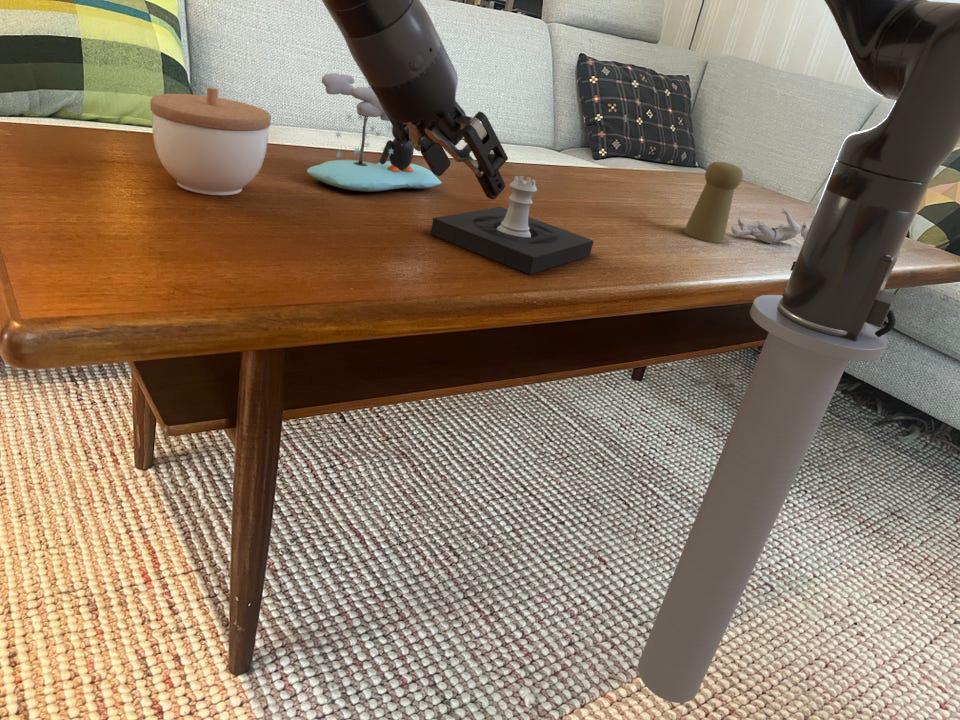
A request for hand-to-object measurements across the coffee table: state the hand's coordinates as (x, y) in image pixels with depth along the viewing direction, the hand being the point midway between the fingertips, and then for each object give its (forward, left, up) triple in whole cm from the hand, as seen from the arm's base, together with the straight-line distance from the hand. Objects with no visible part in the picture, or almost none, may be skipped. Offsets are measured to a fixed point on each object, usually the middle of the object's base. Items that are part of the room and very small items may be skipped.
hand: (469, 181), depth 77 cm
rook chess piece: (-2, -9, -8) cm, 12 cm away
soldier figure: (-20, -56, -8) cm, 60 cm away
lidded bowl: (+28, +11, -8) cm, 32 cm away
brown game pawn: (-13, -46, -8) cm, 48 cm away
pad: (-2, -9, -8) cm, 12 cm away
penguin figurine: (+23, -12, -8) cm, 27 cm away
